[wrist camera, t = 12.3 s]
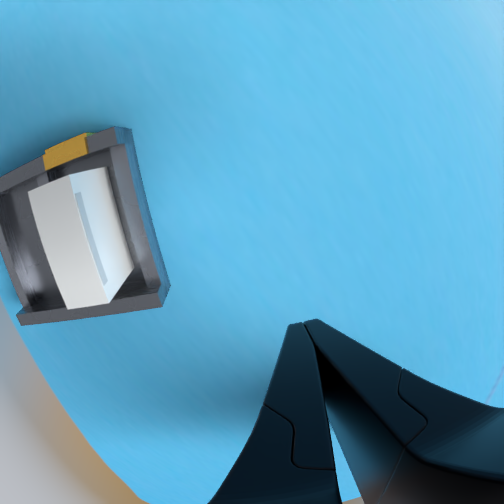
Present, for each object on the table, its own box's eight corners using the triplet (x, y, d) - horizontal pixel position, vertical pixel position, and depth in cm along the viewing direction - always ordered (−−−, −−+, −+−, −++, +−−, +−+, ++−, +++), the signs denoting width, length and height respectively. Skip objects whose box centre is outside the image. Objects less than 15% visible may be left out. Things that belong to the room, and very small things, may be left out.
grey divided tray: (130, 124, 16) (112, 121, 14) (170, 285, 20) (161, 308, 17) (-4, 182, 16) (-28, 189, 13) (38, 307, 20) (20, 326, 17)
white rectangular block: (107, 166, 17) (69, 174, 12) (135, 267, 19) (109, 303, 14) (69, 179, 17) (27, 192, 12) (97, 274, 19) (67, 309, 14)
